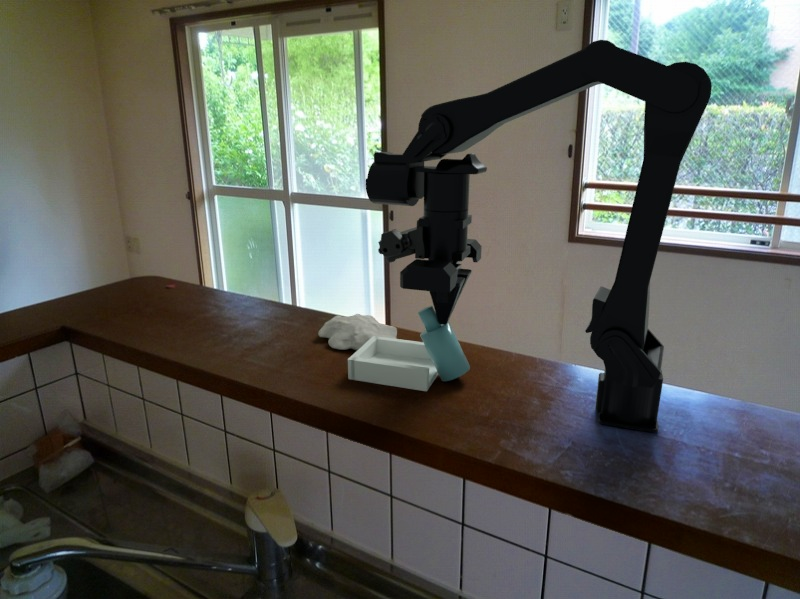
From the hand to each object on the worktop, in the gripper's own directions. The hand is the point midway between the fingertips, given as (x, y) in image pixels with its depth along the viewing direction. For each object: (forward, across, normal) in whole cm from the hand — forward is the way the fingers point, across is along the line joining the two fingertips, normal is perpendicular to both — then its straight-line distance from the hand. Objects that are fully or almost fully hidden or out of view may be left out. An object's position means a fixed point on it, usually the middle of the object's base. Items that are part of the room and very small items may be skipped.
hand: (443, 323), depth 75 cm
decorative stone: (+9, -9, -16) cm, 20 cm away
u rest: (+8, 0, -6) cm, 10 cm away
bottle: (+7, 0, +2) cm, 7 cm away
